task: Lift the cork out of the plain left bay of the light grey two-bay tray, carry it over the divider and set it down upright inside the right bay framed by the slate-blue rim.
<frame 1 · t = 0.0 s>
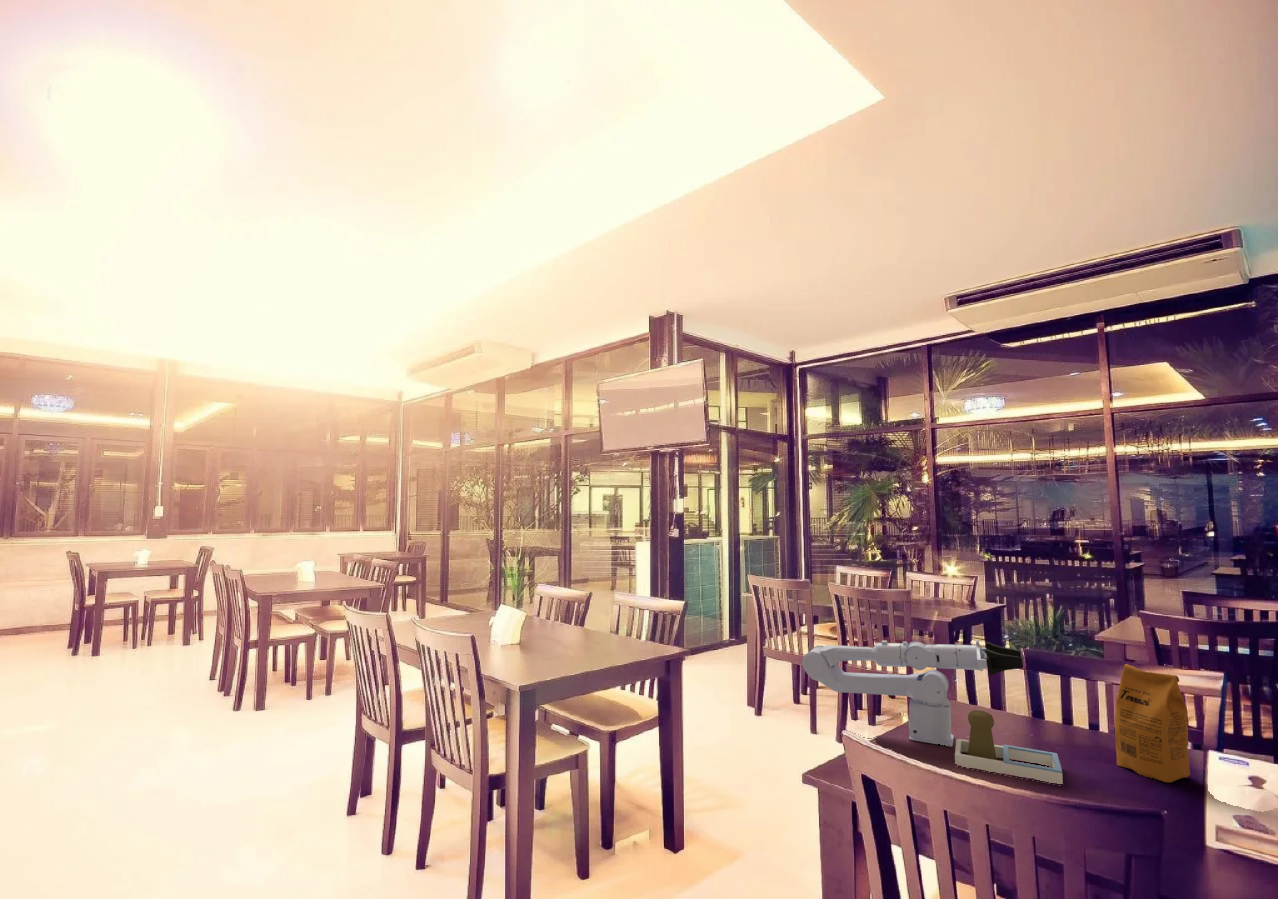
hand: (1021, 659, 151), 22 cm above the table, tool horizontal, fingers open, 7 cm apart
coffee package: (1151, 772, 141), on the table
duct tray: (1006, 766, 143), on the table
cork: (982, 763, 145), resting in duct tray
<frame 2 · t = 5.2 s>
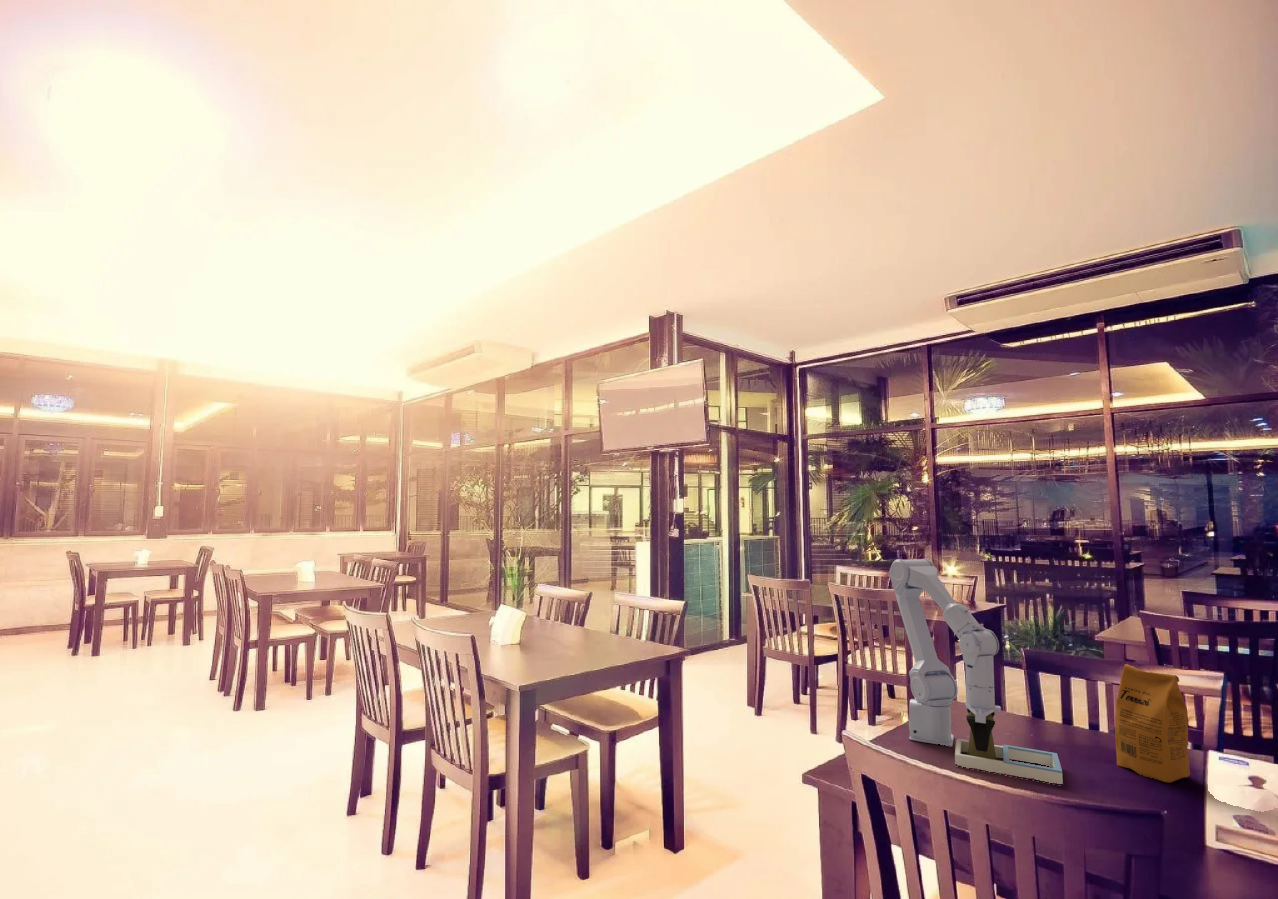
hand: (981, 746, 145), 3 cm above the table, tool pointing down, fingers closed on cork, 5 cm apart
cork: (982, 763, 145), resting in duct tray, touching gripper
everything else where it was.
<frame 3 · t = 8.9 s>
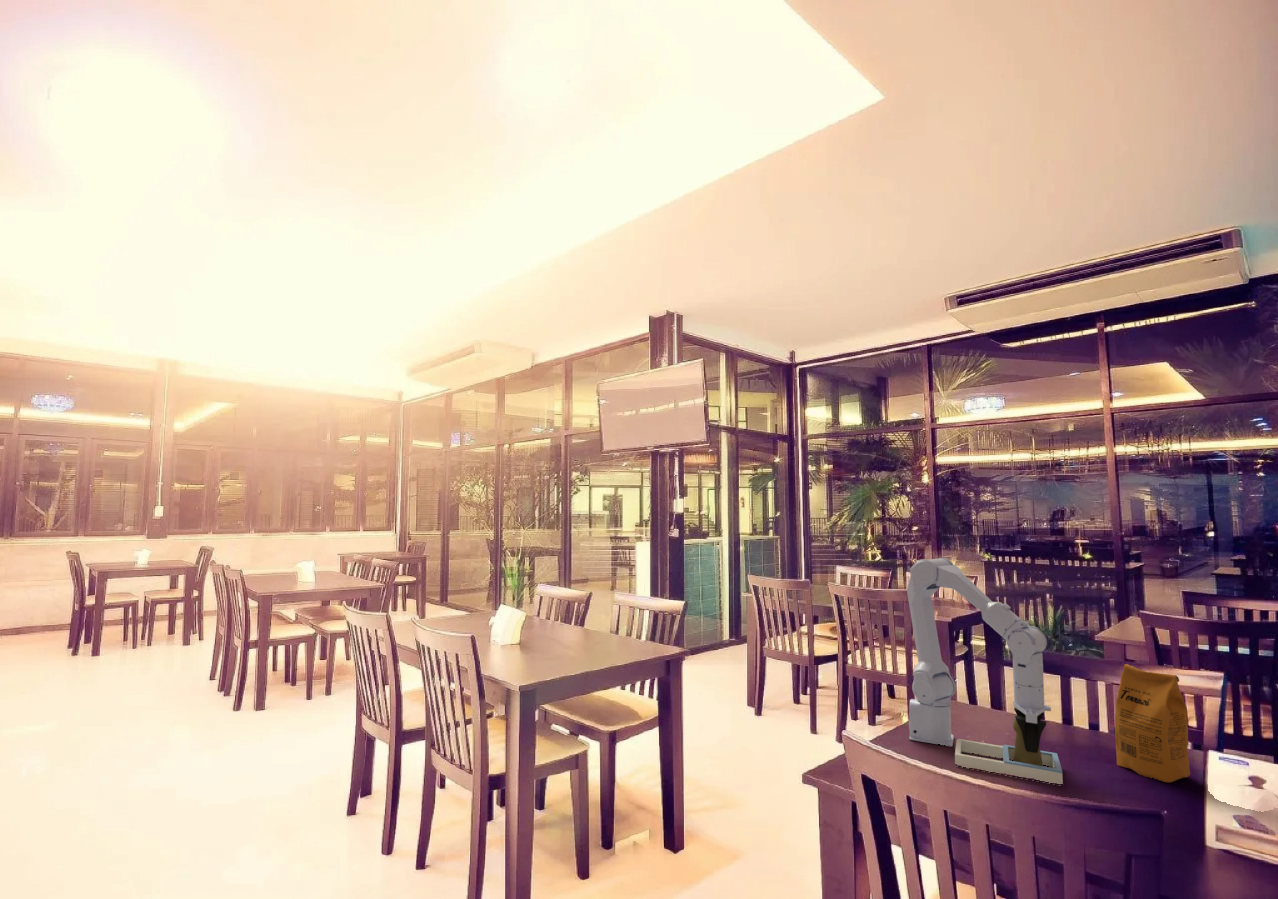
hand: (1030, 747, 141), 5 cm above the table, tool pointing down, fingers closed on cork, 5 cm apart
cork: (1028, 771, 141), resting in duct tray, touching gripper
everything else where it was.
when the fingers open (5 cm above the table, at t = 9.4 s): cork stays where it is, resting in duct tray.
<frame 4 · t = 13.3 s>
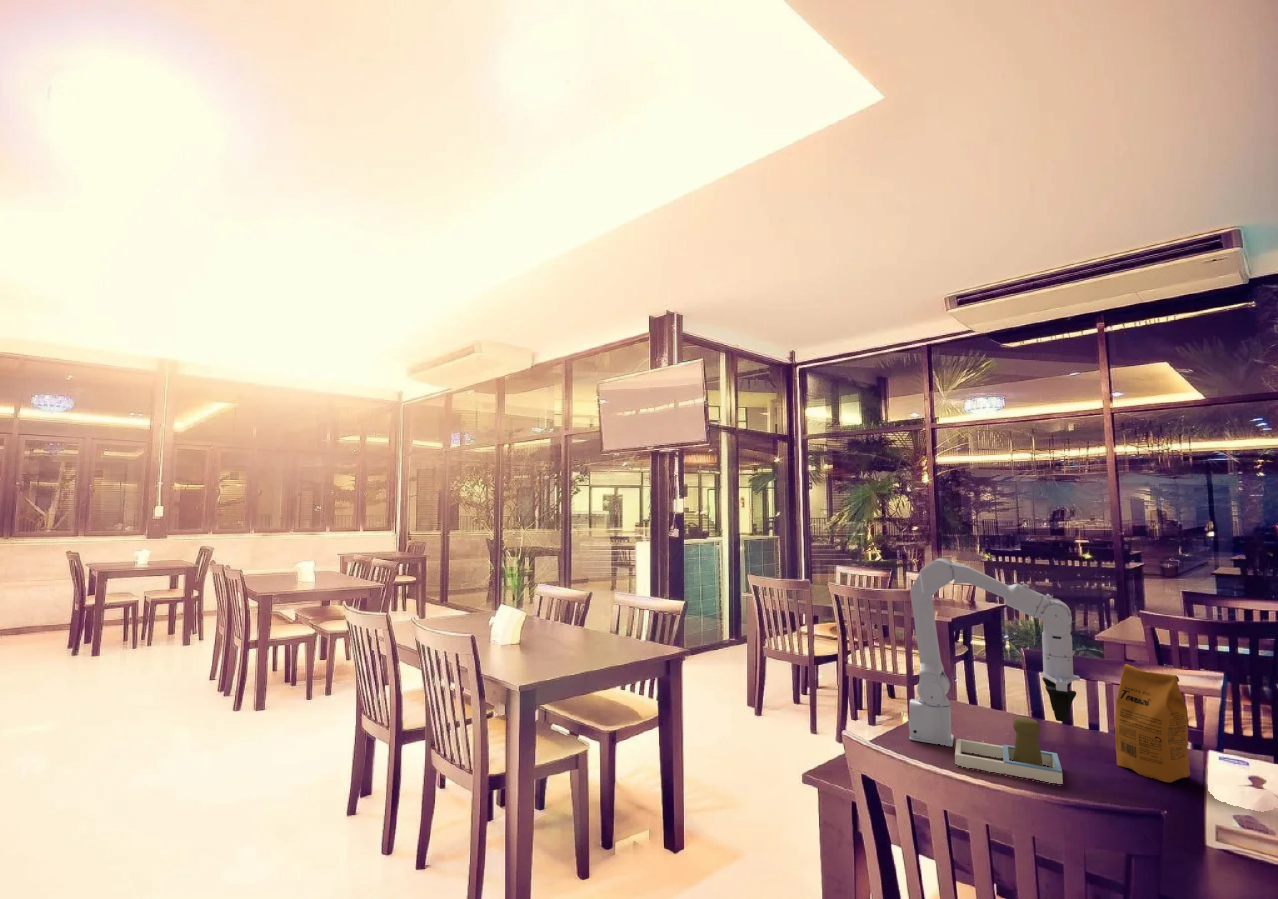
hand: (1059, 716, 145), 10 cm above the table, tool pointing down, fingers open, 7 cm apart
cork: (1028, 771, 141), resting in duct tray
everything else where it was.
at the end: cork 0.5 cm from the target spot on the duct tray, point 0.0 cm above the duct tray's base; cork tilted 0°; the gripper is holding nothing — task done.
